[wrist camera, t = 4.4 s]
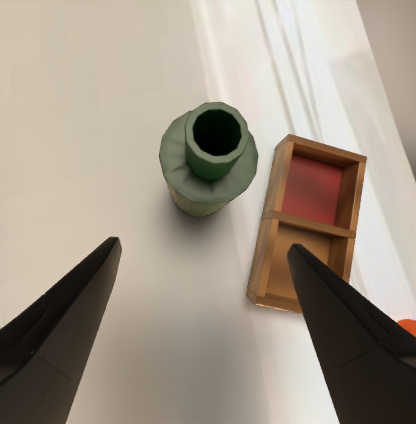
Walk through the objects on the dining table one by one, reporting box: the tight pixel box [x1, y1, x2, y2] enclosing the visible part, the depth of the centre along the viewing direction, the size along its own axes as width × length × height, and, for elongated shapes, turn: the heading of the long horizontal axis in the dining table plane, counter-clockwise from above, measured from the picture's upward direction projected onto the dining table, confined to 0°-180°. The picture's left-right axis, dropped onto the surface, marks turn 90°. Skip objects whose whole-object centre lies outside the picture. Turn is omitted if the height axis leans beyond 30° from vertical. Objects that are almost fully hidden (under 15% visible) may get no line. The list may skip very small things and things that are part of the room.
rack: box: [246, 134, 367, 314], centre depth 22 cm, size 18×9×3 cm, turn 166°
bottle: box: [159, 102, 258, 216], centre depth 16 cm, size 6×6×13 cm
